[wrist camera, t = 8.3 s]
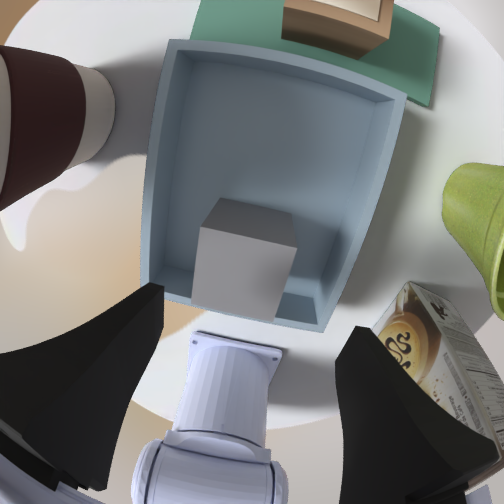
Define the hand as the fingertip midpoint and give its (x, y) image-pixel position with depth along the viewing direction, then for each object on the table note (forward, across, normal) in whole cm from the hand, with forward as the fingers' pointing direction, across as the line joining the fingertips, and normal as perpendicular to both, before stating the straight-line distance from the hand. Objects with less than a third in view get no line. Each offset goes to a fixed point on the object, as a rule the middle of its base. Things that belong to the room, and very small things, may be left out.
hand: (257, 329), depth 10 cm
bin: (+9, +1, -3) cm, 10 cm away
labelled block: (+9, 0, -14) cm, 17 cm away
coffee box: (+10, -14, +6) cm, 18 cm away
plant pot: (+10, -14, -6) cm, 19 cm away
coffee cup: (+10, +15, -6) cm, 19 cm away
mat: (+9, 0, -14) cm, 17 cm away
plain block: (+9, +1, 0) cm, 9 cm away
